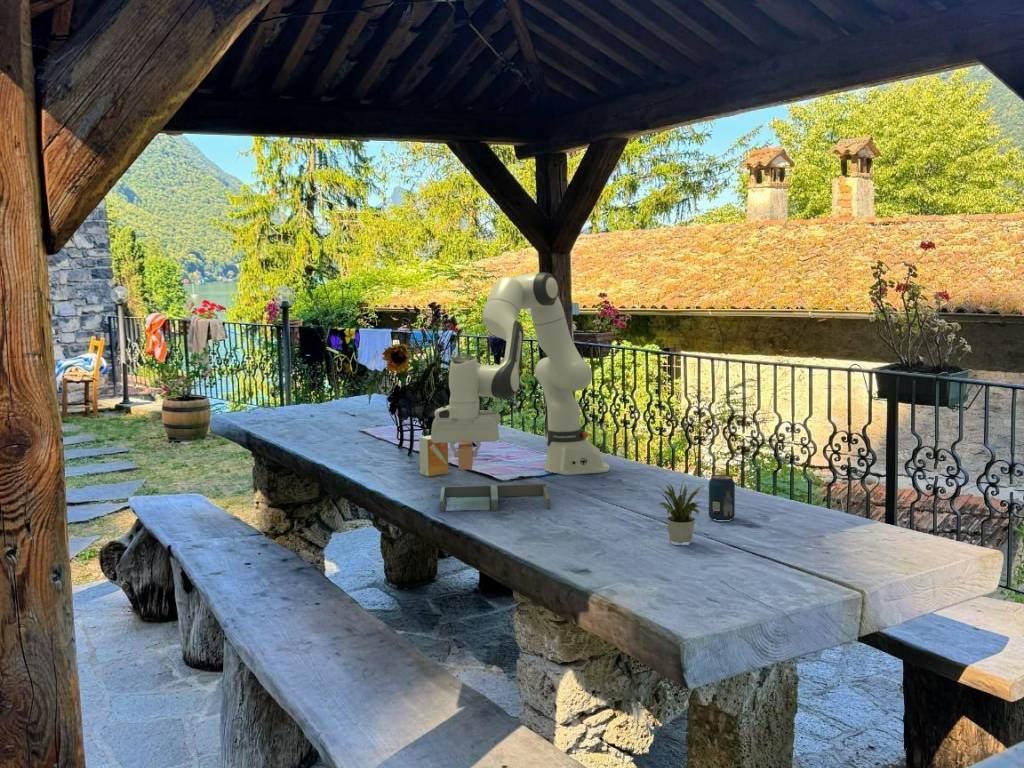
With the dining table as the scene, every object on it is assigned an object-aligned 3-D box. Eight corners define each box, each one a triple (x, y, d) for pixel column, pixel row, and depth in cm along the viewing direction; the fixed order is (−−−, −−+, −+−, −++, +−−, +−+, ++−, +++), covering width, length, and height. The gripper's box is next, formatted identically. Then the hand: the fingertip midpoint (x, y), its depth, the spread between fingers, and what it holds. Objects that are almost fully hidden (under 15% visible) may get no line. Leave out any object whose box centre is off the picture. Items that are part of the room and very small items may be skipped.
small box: (428, 477, 314) (427, 439, 313) (419, 473, 319) (418, 436, 318) (449, 473, 319) (448, 436, 317) (440, 470, 324) (439, 433, 322)
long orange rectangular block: (472, 460, 281) (472, 441, 280) (472, 469, 269) (471, 449, 269) (459, 461, 281) (459, 441, 280) (458, 469, 269) (458, 449, 268)
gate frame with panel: (545, 494, 286) (545, 483, 286) (549, 508, 270) (549, 496, 269) (442, 497, 285) (441, 486, 285) (439, 512, 269) (439, 500, 268)
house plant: (641, 548, 230) (641, 484, 228) (653, 533, 243) (653, 472, 241) (699, 553, 225) (699, 488, 223) (708, 537, 238) (708, 475, 236)
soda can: (715, 514, 259) (716, 472, 258) (738, 518, 255) (739, 475, 253) (704, 520, 254) (704, 477, 252) (727, 524, 249) (727, 480, 248)
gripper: (499, 408, 277) (500, 453, 278) (430, 409, 276) (432, 455, 278) (499, 411, 270) (500, 458, 272) (429, 413, 270) (431, 459, 271)
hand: (465, 456), depth 275 cm, fingers closed on long orange rectangular block, 4 cm apart
